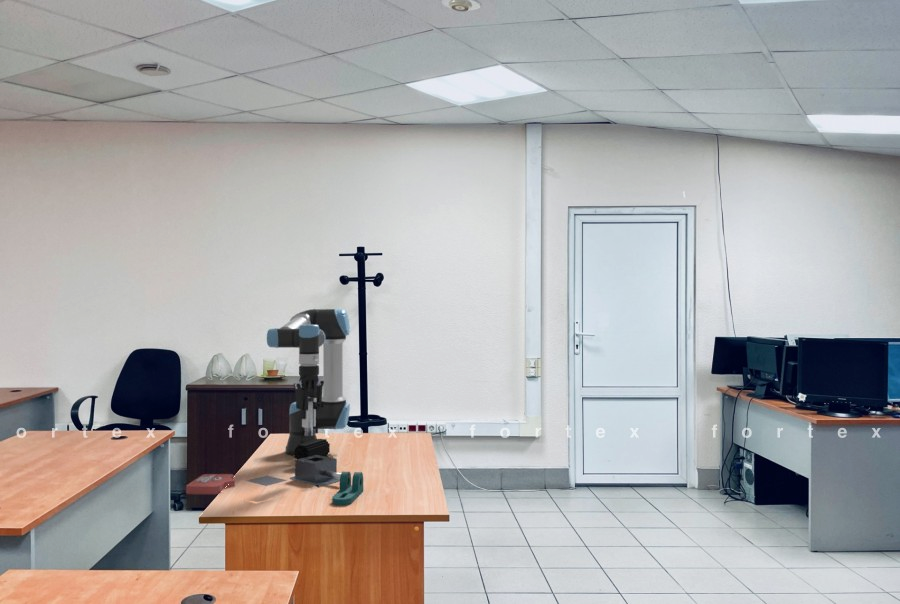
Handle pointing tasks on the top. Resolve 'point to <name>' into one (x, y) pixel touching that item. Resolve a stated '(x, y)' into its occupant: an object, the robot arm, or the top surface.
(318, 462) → the hollow square block
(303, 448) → the security camera
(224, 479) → the plaque
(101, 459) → the top surface
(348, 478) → the bracket
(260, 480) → the mat
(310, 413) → the silver grey long piece
